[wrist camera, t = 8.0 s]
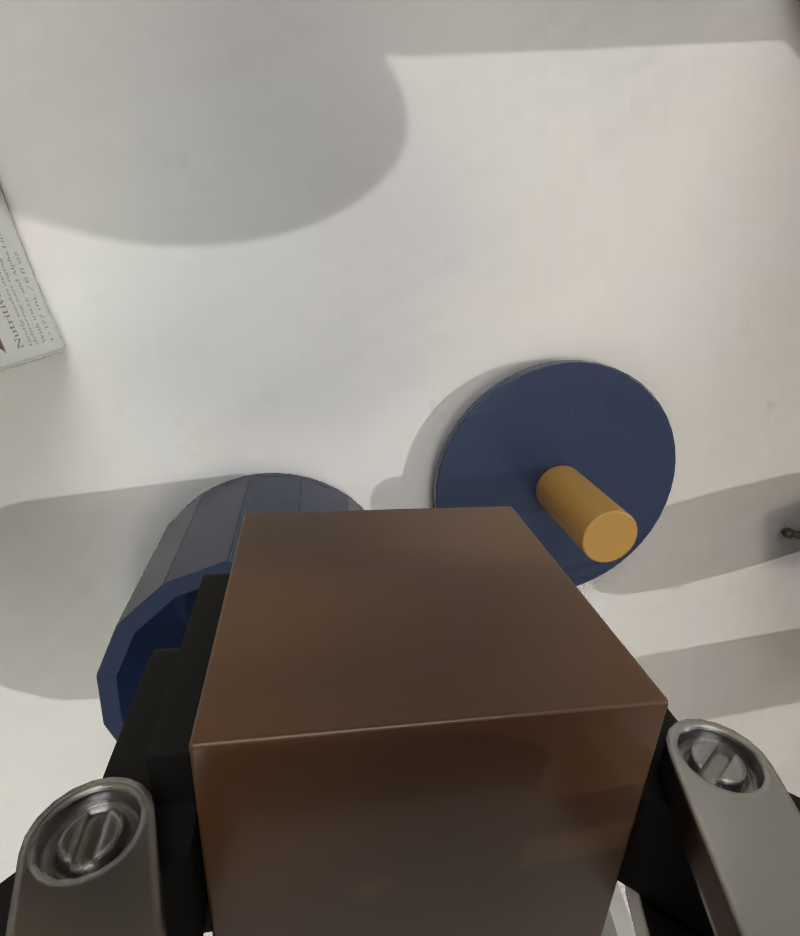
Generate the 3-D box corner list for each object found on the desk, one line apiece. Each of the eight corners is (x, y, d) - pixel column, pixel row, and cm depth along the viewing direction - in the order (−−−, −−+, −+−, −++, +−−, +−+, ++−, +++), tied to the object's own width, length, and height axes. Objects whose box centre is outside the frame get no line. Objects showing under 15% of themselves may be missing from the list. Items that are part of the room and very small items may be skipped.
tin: (111, 522, 27) (31, 631, 20) (344, 439, 28) (357, 514, 20) (218, 695, 32) (189, 837, 24) (415, 623, 32) (448, 742, 25)
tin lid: (399, 409, 27) (424, 455, 21) (647, 321, 28) (743, 341, 21) (466, 612, 33) (502, 696, 27) (674, 536, 33) (757, 602, 27)
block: (257, 726, 11) (224, 1041, 7) (244, 512, 10) (187, 747, 5) (485, 706, 12) (591, 975, 8) (511, 504, 10) (670, 701, 6)
